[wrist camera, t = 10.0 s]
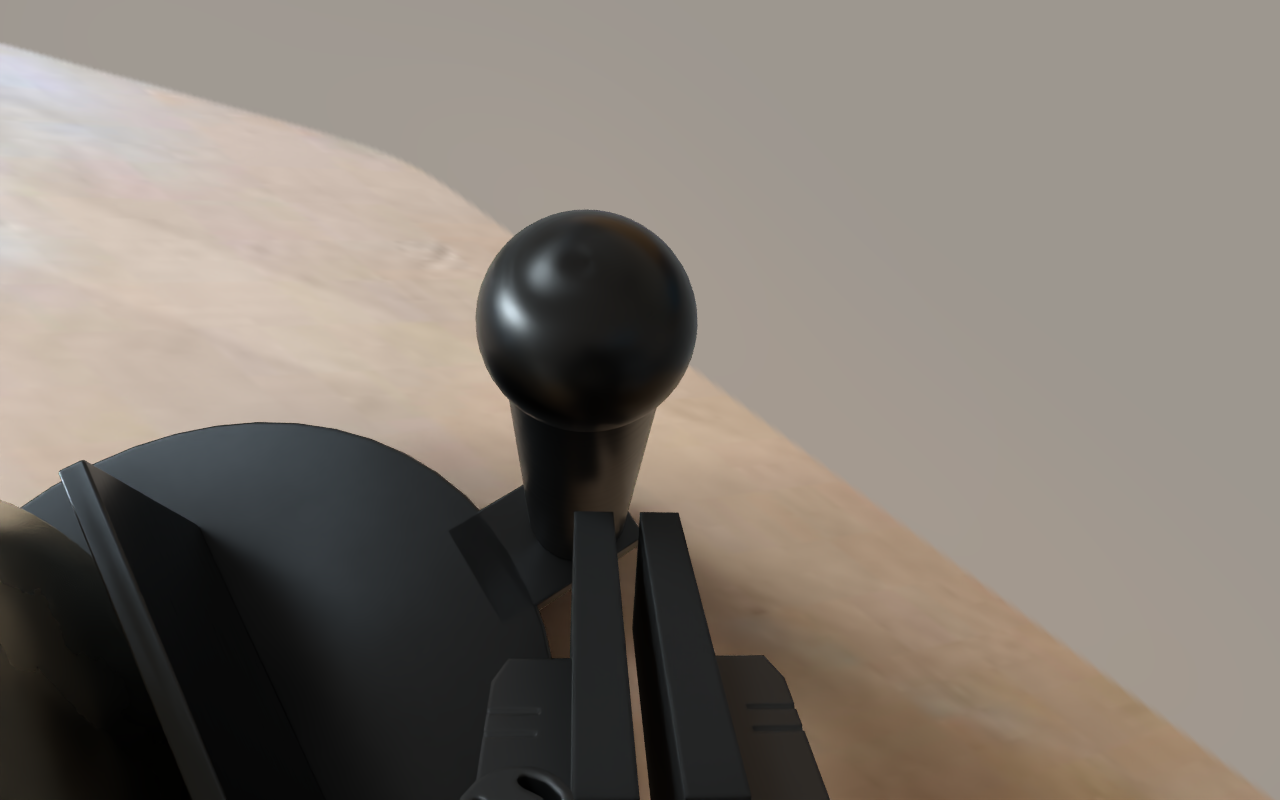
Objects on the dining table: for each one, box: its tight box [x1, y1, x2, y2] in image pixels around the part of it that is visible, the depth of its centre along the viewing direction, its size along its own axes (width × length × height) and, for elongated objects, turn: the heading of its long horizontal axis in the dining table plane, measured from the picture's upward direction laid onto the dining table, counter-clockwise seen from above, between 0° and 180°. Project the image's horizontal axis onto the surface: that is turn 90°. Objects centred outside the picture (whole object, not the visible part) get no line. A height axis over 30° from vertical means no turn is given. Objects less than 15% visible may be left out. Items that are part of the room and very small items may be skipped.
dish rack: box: [0, 210, 697, 800], centre depth 13 cm, size 20×16×13 cm
